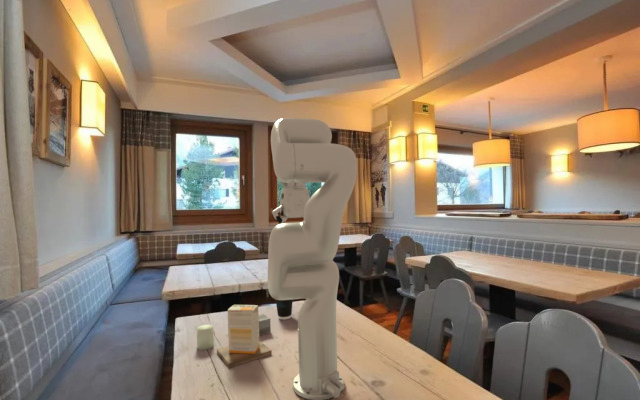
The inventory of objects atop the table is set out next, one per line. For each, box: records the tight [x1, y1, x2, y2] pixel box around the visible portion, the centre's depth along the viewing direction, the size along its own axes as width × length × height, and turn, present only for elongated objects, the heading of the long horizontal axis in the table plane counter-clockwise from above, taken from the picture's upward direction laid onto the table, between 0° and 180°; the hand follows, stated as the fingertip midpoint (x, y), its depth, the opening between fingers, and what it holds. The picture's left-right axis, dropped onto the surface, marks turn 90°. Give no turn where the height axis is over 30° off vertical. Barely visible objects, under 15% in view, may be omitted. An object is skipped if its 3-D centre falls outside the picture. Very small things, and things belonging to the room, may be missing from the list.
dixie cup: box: [275, 299, 294, 320], centre depth 129 cm, size 8×8×11 cm
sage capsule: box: [196, 324, 215, 351], centre depth 104 cm, size 5×5×6 cm
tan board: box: [216, 339, 273, 369], centre depth 99 cm, size 11×13×1 cm
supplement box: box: [227, 304, 260, 354], centre depth 98 cm, size 8×5×13 cm, turn 81°
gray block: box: [259, 313, 272, 337], centre depth 115 cm, size 6×5×5 cm
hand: (295, 234), depth 112 cm, fingers open, 9 cm apart
